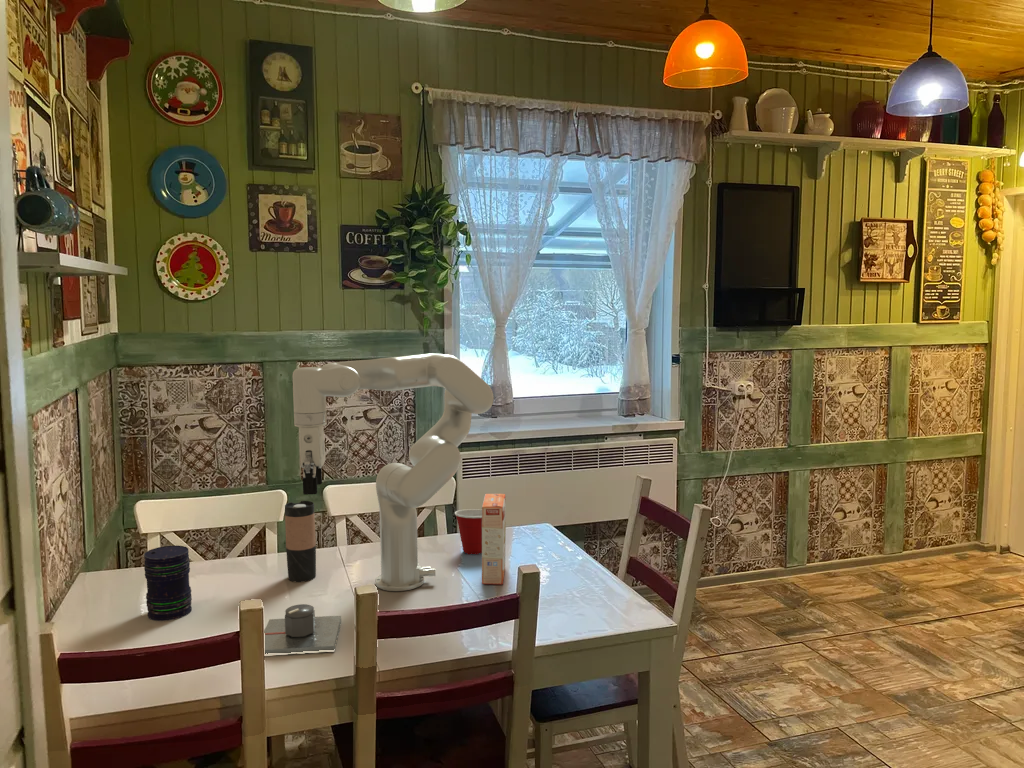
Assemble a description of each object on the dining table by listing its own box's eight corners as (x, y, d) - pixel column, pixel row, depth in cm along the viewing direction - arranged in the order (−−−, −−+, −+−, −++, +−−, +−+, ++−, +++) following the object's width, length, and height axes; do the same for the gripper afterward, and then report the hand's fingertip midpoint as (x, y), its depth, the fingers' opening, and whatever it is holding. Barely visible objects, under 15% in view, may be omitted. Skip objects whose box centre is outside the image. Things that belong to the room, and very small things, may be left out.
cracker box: (504, 585, 205) (503, 506, 203) (481, 585, 205) (480, 506, 203) (506, 566, 219) (506, 492, 217) (484, 566, 219) (484, 492, 217)
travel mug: (306, 583, 207) (303, 509, 205) (281, 580, 210) (278, 506, 207) (322, 574, 214) (319, 501, 212) (298, 571, 217) (295, 499, 214)
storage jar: (196, 603, 194) (193, 544, 193) (187, 619, 185) (183, 557, 183) (153, 606, 193) (149, 546, 191) (141, 622, 183) (137, 560, 182)
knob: (303, 622, 178) (302, 600, 177) (320, 629, 174) (319, 607, 174) (280, 631, 173) (279, 609, 173) (297, 639, 170) (296, 616, 169)
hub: (341, 621, 183) (340, 600, 182) (334, 652, 167) (333, 629, 167) (269, 625, 181) (268, 604, 180) (255, 657, 165) (254, 634, 165)
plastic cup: (497, 547, 235) (497, 508, 234) (483, 559, 225) (483, 518, 224) (464, 544, 239) (463, 505, 238) (448, 555, 229) (448, 514, 228)
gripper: (322, 424, 182) (324, 497, 184) (330, 413, 199) (332, 480, 201) (288, 425, 181) (291, 498, 183) (299, 414, 198) (302, 481, 200)
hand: (312, 489), depth 192 cm, fingers open, 9 cm apart
